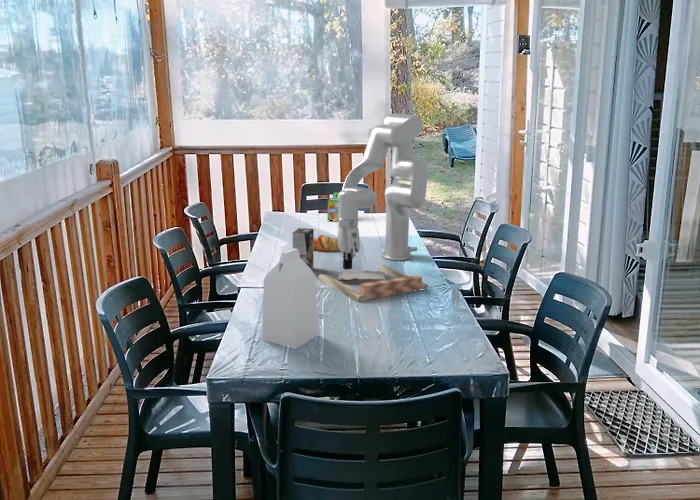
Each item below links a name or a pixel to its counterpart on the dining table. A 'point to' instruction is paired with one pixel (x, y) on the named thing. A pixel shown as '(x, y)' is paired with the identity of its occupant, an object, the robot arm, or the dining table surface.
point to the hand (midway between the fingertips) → (347, 268)
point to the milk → (290, 302)
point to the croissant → (325, 244)
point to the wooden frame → (378, 285)
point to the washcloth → (360, 277)
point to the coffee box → (305, 245)
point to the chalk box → (333, 207)
